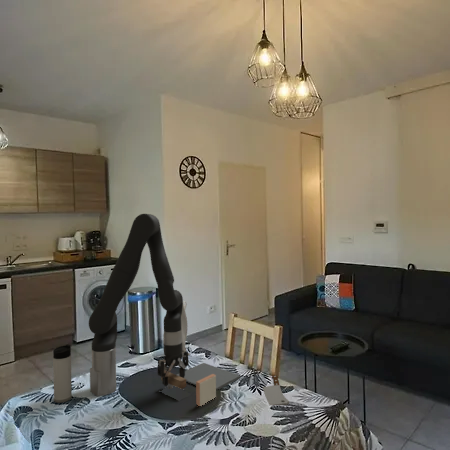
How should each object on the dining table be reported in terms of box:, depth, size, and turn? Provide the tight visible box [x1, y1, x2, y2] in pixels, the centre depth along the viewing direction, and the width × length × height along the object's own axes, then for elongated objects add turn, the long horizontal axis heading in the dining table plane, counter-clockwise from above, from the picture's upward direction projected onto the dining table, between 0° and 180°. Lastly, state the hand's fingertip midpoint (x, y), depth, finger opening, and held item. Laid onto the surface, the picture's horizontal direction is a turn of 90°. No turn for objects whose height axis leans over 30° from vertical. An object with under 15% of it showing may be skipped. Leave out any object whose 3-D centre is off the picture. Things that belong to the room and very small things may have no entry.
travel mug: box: [52, 344, 73, 404], centre depth 140 cm, size 6×7×20 cm
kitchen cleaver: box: [262, 374, 290, 406], centre depth 146 cm, size 24×1×10 cm
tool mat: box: [176, 362, 241, 390], centre depth 158 cm, size 18×22×1 cm
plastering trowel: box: [160, 371, 187, 390], centre depth 144 cm, size 13×7×7 cm, turn 50°
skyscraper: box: [181, 300, 191, 356], centre depth 185 cm, size 8×8×28 cm
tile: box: [195, 374, 217, 407], centre depth 137 cm, size 9×2×9 cm, turn 139°
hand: (173, 381), depth 145 cm, fingers open, 8 cm apart
